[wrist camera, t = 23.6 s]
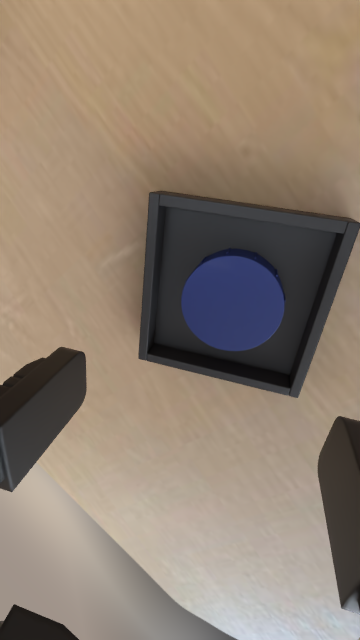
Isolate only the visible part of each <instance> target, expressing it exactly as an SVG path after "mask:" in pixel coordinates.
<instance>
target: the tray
mask: <svg viewBox="0 0 360 640" xmlns="http://www.w3.org/2000/svg"><path fill="white" fill-rule="evenodd" d="M359 229H360V223H359V222H357V221H355V220H353V219H351V218H345V217H338V216H331V215H324V214H317V213H310V212H303V211H296V210H290V209H283V208H276V207H269V206H262V205H255V204H248V203H241V202H234V201H227V200H220V199H213V198H207V197H200V196H193V195H186V194H179V193H172V192H165V191H157V192H150V193H149V207H148V222H147V237H146V252H145V267H144V282H143V297H142V312H141V327H140V343H139V359H142V360H147V361H150V362H154V363H158V364H162V365H166V366H170V367H174V368H178V369H182V370H186V371H190V372H194V373H198V374H202V375H207V376H211V377H215V378H219V379H223V380H227V381H231V382H235V383H239V384H243V385H247V386H251V387H255V388H259V389H263V390H267V391H271V392H275V393H279V394H283V395H289V396H292V397H296V398H298V397H299V394H300V391H301V388H302V386H303V383H304V380H305V377H306V375H307V372H308V369H309V366H310V364H311V361H312V358H313V355H314V353H315V350H316V347H317V344H318V342H319V339H320V336H321V333H322V331H323V328H324V325H325V322H326V320H327V317H328V314H329V311H330V308H331V306H332V303H333V300H334V297H335V295H336V292H337V289H338V286H339V284H340V281H341V278H342V275H343V273H344V270H345V267H346V264H347V262H348V259H349V256H350V253H351V251H352V248H353V245H354V242H355V240H356V237H357V234H358V231H359ZM229 248H231V249H244V250H248V251H251V252H254V253H255V252H257V254H258V255H260V256H262V257H263V258H264V259H266V260H267V261H268V262H269V263H270V264H271V265H272V266H273V267H274V268H275V269H277V271H278V275H279V277H280V280H281V283H282V287H283V293H285V299H286V302H284V303H285V305H284V314H283V318H282V320H281V323H280V325H279V327H278V329H277V330H276V331H275V333H274V334H273V335H272V336H271V337H270V338H269V339H268V340H266V341H265V342H264V343H262V344H260V345H258V346H256V347H254V348H251V349H248V350H242V351H226V350H221V349H218V348H215V347H212V346H210V345H208V344H206V343H204V342H203V341H202V340H200V339H199V338H198V337H197V336H196V335H195V334H194V333H193V332H192V331H191V329H190V328H189V327H188V325H187V323H186V321H185V319H184V316H183V312H182V307H181V296H182V291H183V288H184V285H185V283H186V282H185V281H186V280H187V278H188V277H189V276H190V275H191V273H192V272H193V271H194V270H195V268H196V267H197V266H198V265H199V264H200V263H201V261H202V260H203V259H204V257H208V256H210V255H211V254H213V253H216V252H218V251H221V250H226V249H229Z"/></svg>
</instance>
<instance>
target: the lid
mask: <svg viewBox="0 0 360 640" xmlns="http://www.w3.org/2000/svg"><path fill="white" fill-rule="evenodd" d="M185 282H186V283H185V285H184V288H183V291H182V296H181V307H182V312H183V316H184V319H185V321H186V323H187V325H188V327H189V328H190V329H191V331H192V332H193V333H194V334H195V335H196V336H197V337H198V338H199V339H200V340H202V341H203V342H204V343H206V344H208V345H210V346H212V347H215V348H218V349H221V350H226V351H242V350H248V349H251V348H254V347H256V346H258V345H260V344H262V343H264V342H265V341H266V340H268V339H269V338H270V337H271V336H272V335H273V334H274V333H275V331H276V330H277V329H278V327H279V325H280V323H281V320H282V318H283V314H284V305H285V303H284V302H286V299H285V293H283V287H282V283H281V280H280V277H279V275H278V271H277V269H275V268H274V267H273V266H272V265H271V264H270V263H269V262H268V261H267V260H266V259H264V258H263V257H262V256H260V255H258V254H257V252H255V253H254V252H251V251H248V250H244V249H231V248H229V249H226V250H221V251H218V252H216V253H213V254H211V255H210V256H208V257H204V259H203V260H202V261H201V263H200V264H199V265H198V266H197V267H196V268H195V270H194V271H193V272H192V273H191V275H190V276H189V277H188V278H187V280H186V281H185Z"/></svg>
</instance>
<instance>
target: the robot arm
mask: <svg viewBox="0 0 360 640" xmlns="http://www.w3.org/2000/svg"><path fill="white" fill-rule="evenodd" d="M85 395H86V357H85V354H84V352H81V351H77V350H73V349H69V348H65V347H60V348H58V349H57V350H56V351H54V352H53V353H52V354H51V355H50V356H48V357H47V358H40V359H38V360H36V361H33V362H31V363H29V364H26V365H25V366H24V367H23V368H21V369H20V370H19V371H17V372H16V373H15V374H14V376H13V377H10V378H9V379H7V380H6V381H5V382H4V383H3V385H0V488H1V489H4V490H7V491H10V492H13V490H14V489H15V488H16V487H17V485H18V484H19V483H20V482H21V480H22V479H23V478H24V477H25V475H26V474H27V473H28V472H29V470H30V469H31V468H32V467H33V465H34V464H35V463H36V462H37V460H38V459H39V458H40V457H41V455H42V454H43V453H44V452H45V450H46V449H47V448H48V447H49V445H50V444H51V443H52V442H53V440H54V439H55V438H56V437H57V435H58V434H59V433H60V432H61V430H62V429H63V428H64V427H65V425H66V424H67V423H68V422H69V420H70V419H71V418H72V417H73V415H74V414H75V413H76V412H77V410H78V409H79V408H80V406H81V405H82V403H83V401H84V398H85ZM318 477H319V483H320V489H321V494H322V500H323V506H324V511H325V517H326V523H327V529H328V534H329V540H330V546H331V552H332V557H333V563H334V569H335V574H336V580H337V586H338V592H339V597H340V603H341V608H342V609H345V610H348V611H351V612H354V613H357V614H360V421H357V420H353V419H349V418H345V417H341V416H339V417H337V418H336V420H335V421H334V423H333V426H332V428H331V430H330V432H329V435H328V437H327V439H326V441H325V443H324V446H323V448H322V450H321V452H320V455H319V460H318ZM0 640H79V639H78V638H77V637H75V635H73V634H72V633H71V632H70V631H69V630H68V629H67V628H66V627H65V626H64V625H63V624H60V623H58V622H55V621H53V620H51V619H48V618H46V617H43V616H41V615H38V614H36V613H34V612H31V611H29V610H26V609H24V608H22V607H19V606H17V605H13V607H12V608H11V610H10V612H9V614H8V615H7V617H6V619H5V620H4V621H0ZM358 640H360V637H359V639H358Z"/></svg>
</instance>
